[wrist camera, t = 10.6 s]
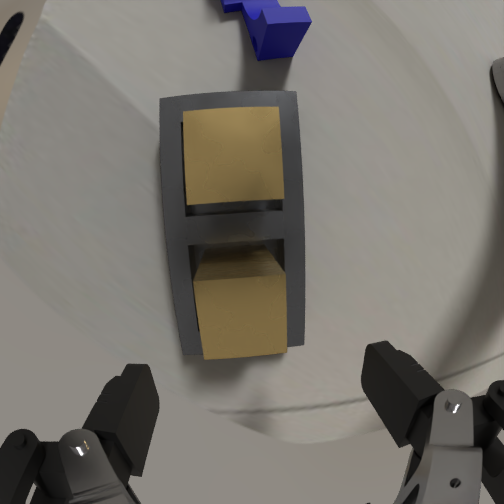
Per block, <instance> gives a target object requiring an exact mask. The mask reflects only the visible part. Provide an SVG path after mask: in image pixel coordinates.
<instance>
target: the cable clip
mask: <svg viewBox="0 0 504 504" xmlns="http://www.w3.org/2000/svg"><path fill="white" fill-rule="evenodd" d="M221 3H222V7H223V10H224V13H227V12H234V11H242V14H243V17H244V20H245V23H246V26H247V29H248V32H249V35H250V38H251V41H252V44H253V47H254V50H255V54H256V57H257V60H258V61H261V60H268V59H277V58H286V57H293V56H294V54H295V52H296V50H297V48H298V46H299V44H300V43H301V41H302V39H303V37H304V35H305V33H306V32H307V30H308V28H309V26H310V24H311V23H312V21H311V19H310V16H309V14H308V12H307V10H306V7H280V5H279V3H278V1H277V0H221Z"/></svg>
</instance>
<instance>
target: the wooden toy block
mask: <svg viewBox="0 0 504 504" xmlns="http://www.w3.org/2000/svg"><path fill="white" fill-rule="evenodd" d="M193 285H194V293H195V301H196V308H197V315H198V322H199V329H200V336H201V342H202V348H203V354H204V360H209V359H225V358H239V357H250V356H260V355H270V354H278V353H287V305H286V274H285V272H284V271H283V270H282V268H281V267H280V265H279V264H278V263H277V261H276V260H275V259H274V257H273V256H272V254H271V253H270V252H269V250H268V249H267V247H266V246H265V245H264V244H262V245H248V246H235V247H222V248H209V249H205V251H204V254H203V256H202V259H201V262H200V264H199V267H198V269H197V272H196V275H195V278H194V280H193Z"/></svg>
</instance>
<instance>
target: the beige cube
mask: <svg viewBox="0 0 504 504" xmlns="http://www.w3.org/2000/svg"><path fill="white" fill-rule="evenodd" d="M183 134H184V161H185V180H186V197H187V205H194V204H206V203H220V202H234V201H251V200H270V199H284V181H283V162H282V146H281V131H280V117H279V107H234V108H217V109H204V110H193V111H184V112H183Z"/></svg>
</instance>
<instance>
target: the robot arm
mask: <svg viewBox="0 0 504 504" xmlns="http://www.w3.org/2000/svg"><path fill="white" fill-rule="evenodd" d="M492 69H493V76H494V80H495V83H496V86H497V89H498V92H499V94H500V96H501V99H502V101H503V102H504V57H503V58H500V59H497V60H495V61H494V62H493V67H492ZM361 384H362V388H363V391H364V393H365V394H366V396H367V397H368V399H369V401H370V402H371V404H372V405H373V407H374V408H375V410H376V412H377V413H378V415H379V416H380V418H381V420H382V421H383V423H384V424H385V426H386V428H387V429H388V431H389V433H390V434H391V436H392V437H393V439H394V441H395V442H396V444H397V445H398V447H399V448H400V447H403V446H406V445H408V444H411V445H412V447H413V448H412V451H411V453H410V456H409V460H408V464H407V468H406V471H405V475H404V478H403V482H402V485H401V488H400V491H399V493H398V496H397V498H396V500H395V502H394V503H393V504H479V498H480V489H481V481H482V483H483V484H484V486H485V488H486V489H487V491H488V492H489V494H490V496H491V497H492V499H493V500H494V502H495V504H504V445H503V444H502V442H501V441H500V440H499V439H498V437H497V435H498V434H499V432H500V431H501V429H503V430H504V380H499V381H495V382H493V383H492V384H491V385H490V386H489V389H488V391H487V393H486V395H482V396H477V397H472V398H470V397H469V396H468V395H467V394H466V393H464V392H462V391H459V390H454V389H449V390H444V389H443V388H442V387H441V386H440V385H439V384H438V383H437V382H436V381H435V380H434V378H433V377H432V376H431V375H430V374H429V373H428V372H427V371H426V370H424V368H423V367H422V366H421V365H420V364H418V362H417V361H416V360H415V359H414V358H413V357H412V356H411V355H409V354H407V353H405V352H403V351H401V350H396V349H395V348H394V347H393V346H392V345H391V344H390V343H389V342H388V341H381V342H377V343H372V344H368V345H367V347H366V350H365V356H364V363H363V369H362V375H361ZM158 413H159V396H158V393H157V390H156V387H155V383H154V380H153V377H152V373H151V370H150V367H149V365H147V364H127V365H126V367H125V369H124V370H123V372H122V374H121V376H115V377H114V378H113V379H111V380H110V381H109V382H108V383H107V384H106V385H105V387H104V389H103V390H102V392H101V395H100V396H99V397H98V399H97V402H96V403H95V405H94V406H93V408H92V410H91V412H90V414H89V416H88V418H87V420H86V421H85V423H84V425H83V427H82V429H75V430H71V431H69V432H67V433H66V434H64V435H63V436H62V438H61V439H60V441H59V442H40V441H39V440H38V438H37V437H36V435H35V434H34V433H33V432H32V431H30V430H27V429H19V430H16V431H14V432H12V433H10V435H8V437H7V438H6V439H5V441H4V443H3V444H2V446H1V448H0V504H25V502H26V499H27V496H28V494H29V492H30V489H31V487H32V484H33V483H34V484H35V485H36V486H37V487H36V489H35V492H34V494H33V497H32V499H31V502H30V504H141V502H140V501H139V499H138V498H137V496H136V495H135V493H134V491H133V490H132V488H131V486H130V485H129V484H128V481H129V478H130V475H133V476H139V477H142V473H143V469H144V465H145V461H146V457H147V453H148V449H149V446H150V442H151V438H152V434H153V431H154V427H155V423H156V419H157V416H158ZM367 504H370V503H367Z"/></svg>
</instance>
